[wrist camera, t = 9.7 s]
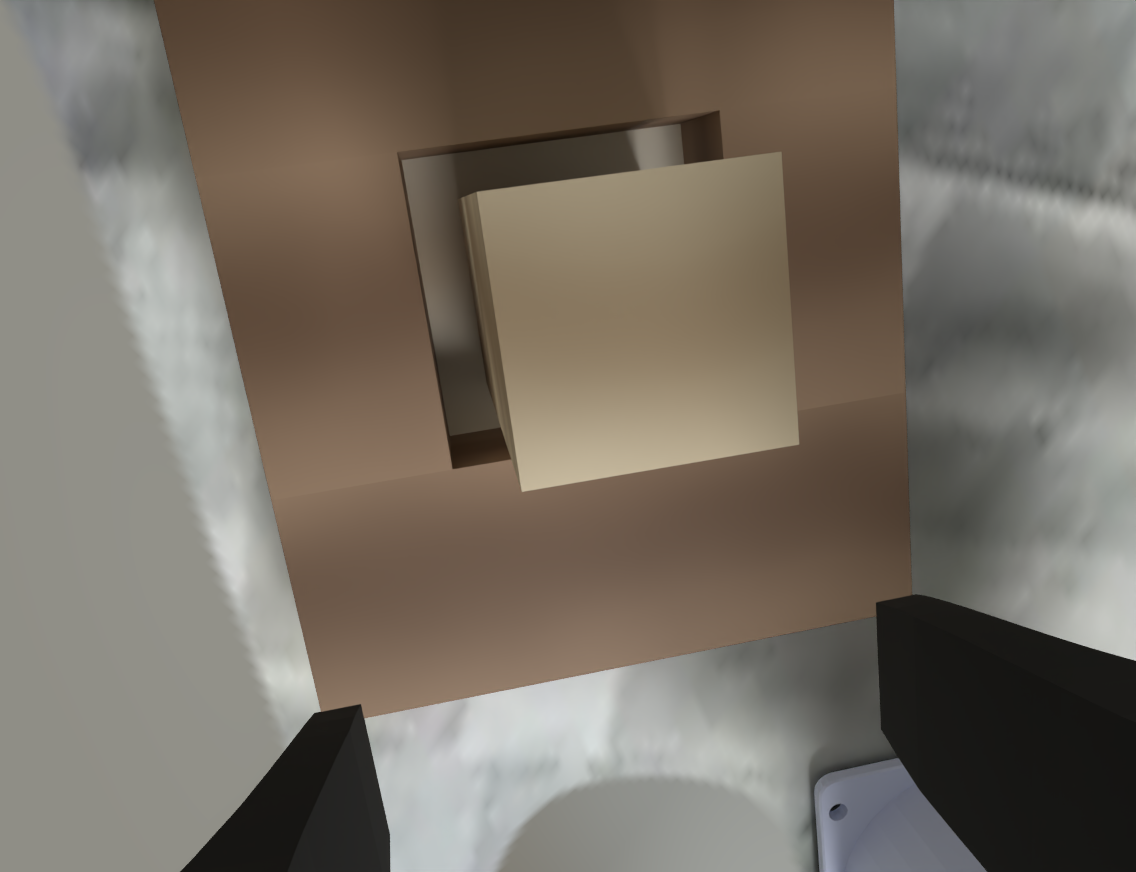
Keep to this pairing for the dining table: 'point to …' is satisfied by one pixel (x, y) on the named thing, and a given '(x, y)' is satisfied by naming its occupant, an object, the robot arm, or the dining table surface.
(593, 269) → the beech peg
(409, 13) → the socket block
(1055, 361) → the dining table surface
